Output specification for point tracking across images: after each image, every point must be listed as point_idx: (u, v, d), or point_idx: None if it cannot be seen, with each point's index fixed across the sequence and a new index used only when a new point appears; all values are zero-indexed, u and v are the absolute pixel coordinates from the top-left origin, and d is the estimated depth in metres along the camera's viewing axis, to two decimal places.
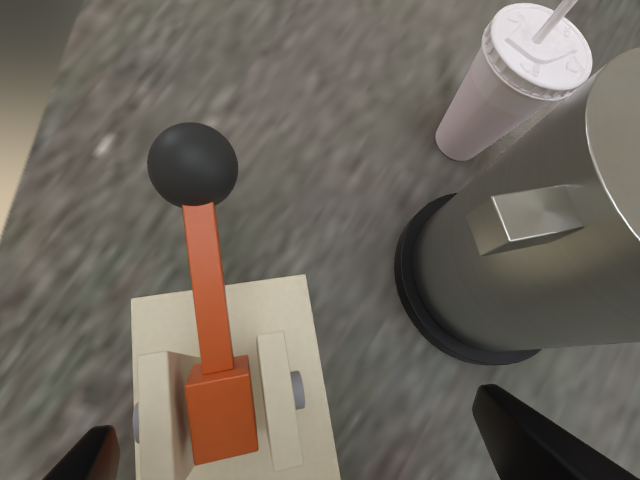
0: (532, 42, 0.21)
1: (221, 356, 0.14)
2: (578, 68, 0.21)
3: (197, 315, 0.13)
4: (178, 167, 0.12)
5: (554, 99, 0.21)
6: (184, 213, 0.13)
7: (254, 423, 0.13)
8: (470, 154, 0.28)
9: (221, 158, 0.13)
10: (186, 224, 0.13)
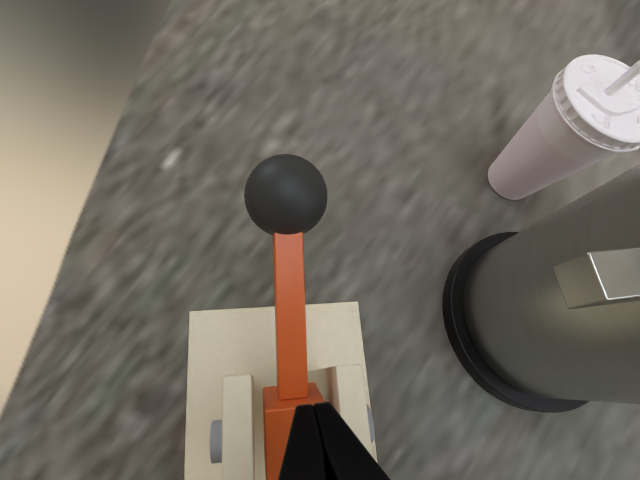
0: (604, 94, 0.21)
1: (298, 383, 0.14)
2: None
3: (279, 341, 0.14)
4: (279, 198, 0.13)
5: (623, 151, 0.21)
6: (275, 240, 0.14)
7: None
8: (523, 194, 0.28)
9: (317, 191, 0.13)
10: (276, 251, 0.14)
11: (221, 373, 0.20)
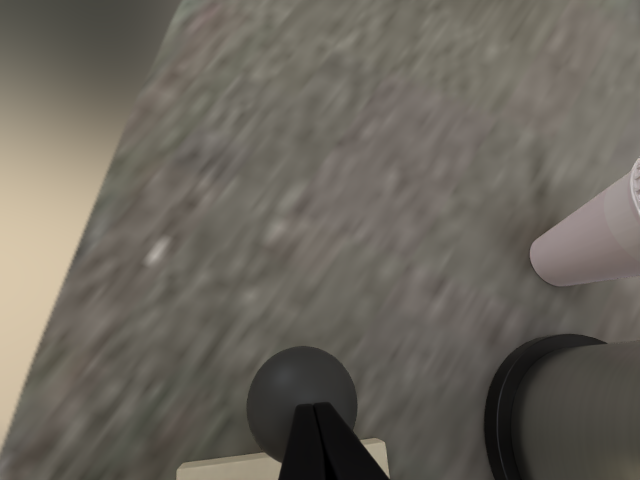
0: None
1: None
2: None
3: None
4: None
5: None
6: None
7: None
8: (574, 284, 0.24)
9: (347, 414, 0.10)
10: None
11: None
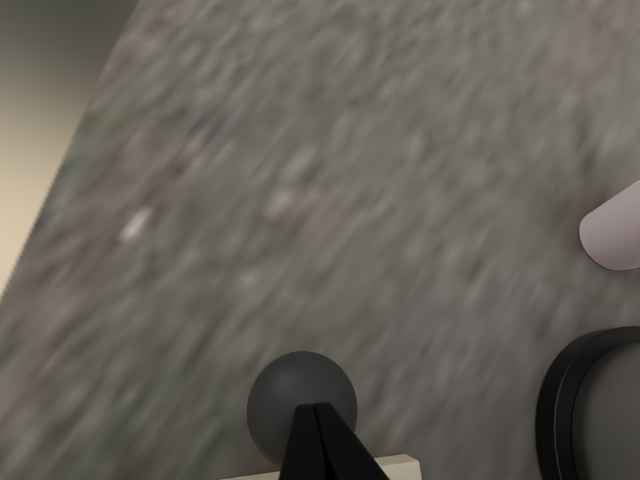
0: None
1: None
2: None
3: None
4: (294, 410, 0.09)
5: None
6: None
7: None
8: (637, 267, 0.20)
9: (344, 396, 0.10)
10: None
11: None
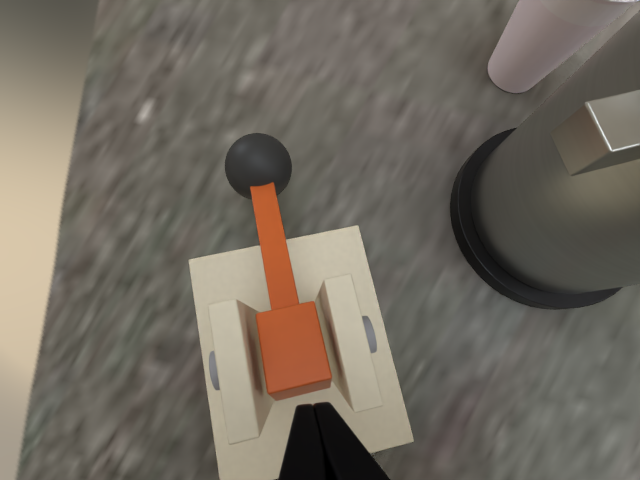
0: None
1: (288, 297, 0.14)
2: None
3: (265, 264, 0.15)
4: (246, 152, 0.17)
5: (637, 0, 0.18)
6: (252, 191, 0.17)
7: (324, 348, 0.13)
8: (529, 83, 0.25)
9: (277, 146, 0.17)
10: (253, 198, 0.17)
11: None
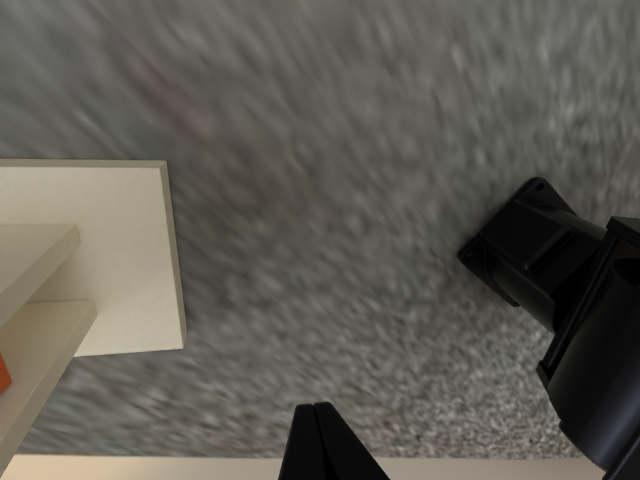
0: None
1: None
2: None
3: None
4: None
5: None
6: None
7: None
8: None
9: None
10: None
11: None
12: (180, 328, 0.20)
